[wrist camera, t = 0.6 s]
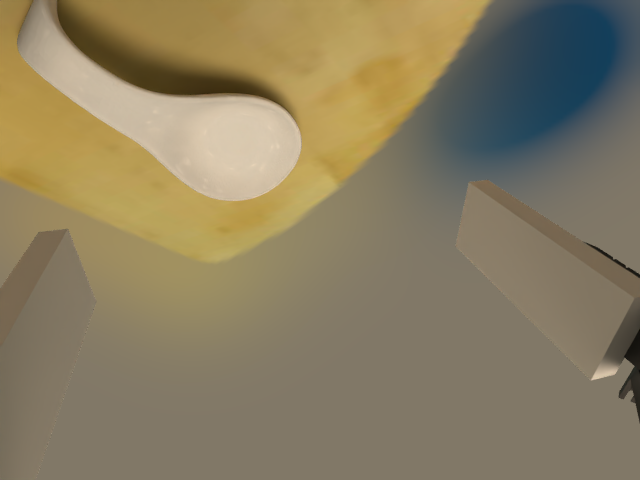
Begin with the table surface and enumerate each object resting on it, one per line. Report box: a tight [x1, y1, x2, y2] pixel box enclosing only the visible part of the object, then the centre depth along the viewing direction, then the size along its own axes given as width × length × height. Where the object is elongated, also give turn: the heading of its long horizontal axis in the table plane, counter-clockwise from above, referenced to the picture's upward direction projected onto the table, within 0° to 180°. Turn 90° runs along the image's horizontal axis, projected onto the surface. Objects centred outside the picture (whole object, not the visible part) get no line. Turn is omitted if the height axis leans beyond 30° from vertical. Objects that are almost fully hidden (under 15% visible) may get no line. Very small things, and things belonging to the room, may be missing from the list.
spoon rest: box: [17, 0, 302, 201], centre depth 34 cm, size 24×12×7 cm, turn 46°
